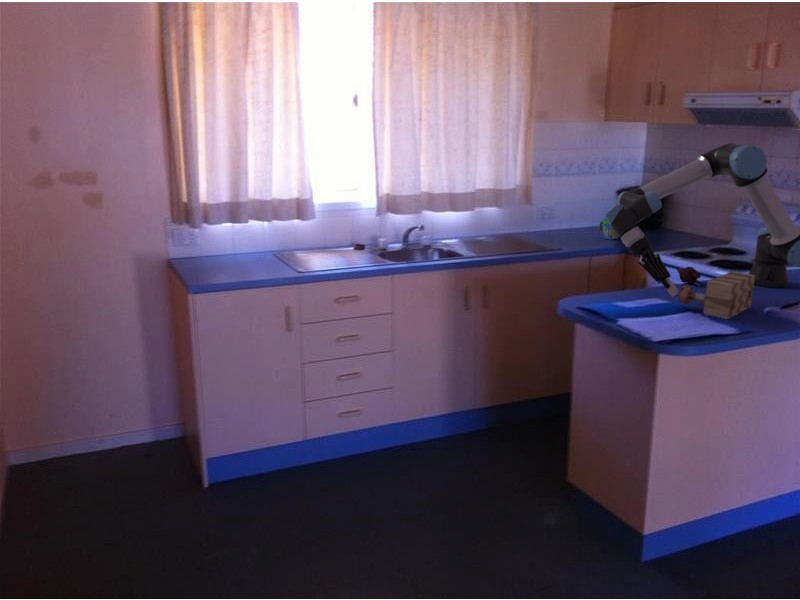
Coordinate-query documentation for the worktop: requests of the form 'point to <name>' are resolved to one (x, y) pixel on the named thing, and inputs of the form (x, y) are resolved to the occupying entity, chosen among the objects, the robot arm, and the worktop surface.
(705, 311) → the block
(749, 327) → the worktop surface
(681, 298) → the terracotta knob
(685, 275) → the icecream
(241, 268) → the worktop surface
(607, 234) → the snack cup
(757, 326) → the worktop surface
